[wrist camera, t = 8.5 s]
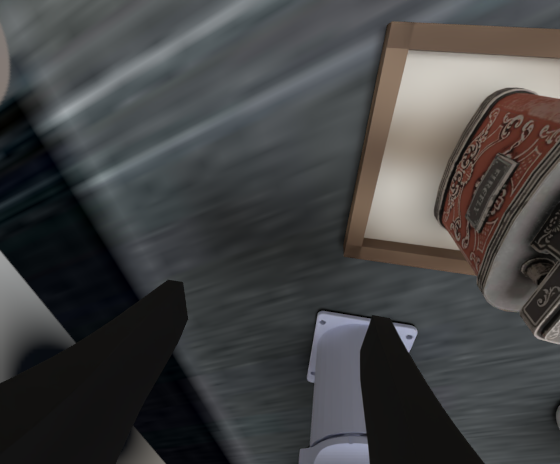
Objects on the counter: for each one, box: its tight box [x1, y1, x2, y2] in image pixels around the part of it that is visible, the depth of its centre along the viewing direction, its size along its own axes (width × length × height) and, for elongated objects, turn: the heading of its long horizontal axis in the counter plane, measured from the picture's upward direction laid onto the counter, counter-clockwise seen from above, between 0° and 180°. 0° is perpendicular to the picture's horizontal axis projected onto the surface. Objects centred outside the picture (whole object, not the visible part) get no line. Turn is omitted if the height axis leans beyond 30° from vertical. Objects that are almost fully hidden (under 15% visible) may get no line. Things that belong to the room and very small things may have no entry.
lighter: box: [434, 87, 560, 344], centre depth 12 cm, size 8×3×10 cm, turn 173°
